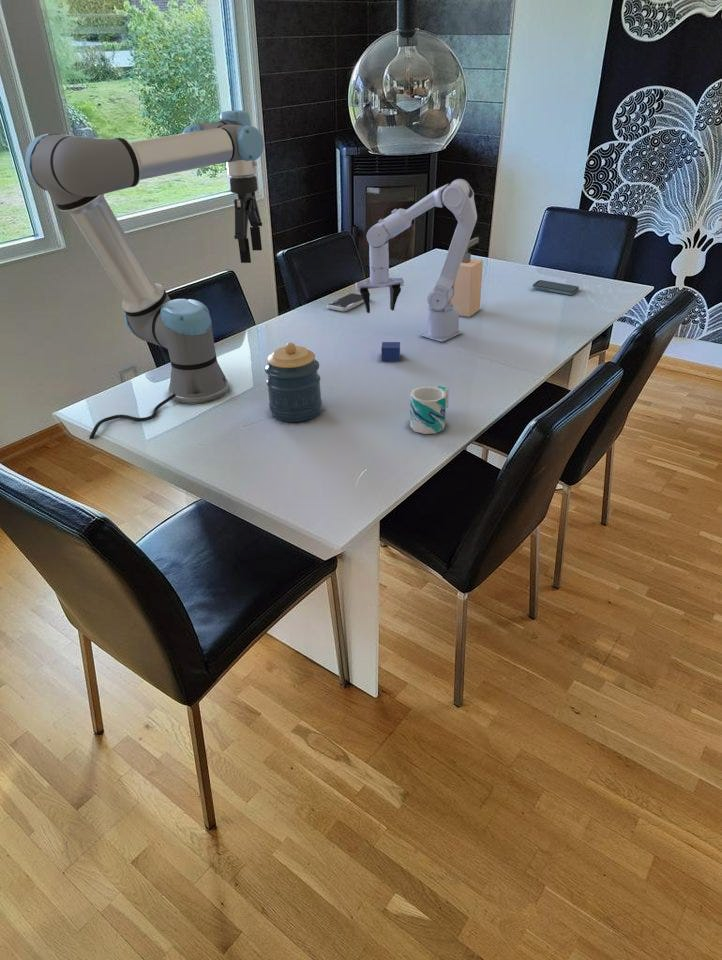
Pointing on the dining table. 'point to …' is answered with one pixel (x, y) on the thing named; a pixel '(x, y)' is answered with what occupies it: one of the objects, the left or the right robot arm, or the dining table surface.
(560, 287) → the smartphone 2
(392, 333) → the dining table surface
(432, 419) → the mug
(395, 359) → the block
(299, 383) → the canister
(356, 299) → the smartphone
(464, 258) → the soap dispenser
